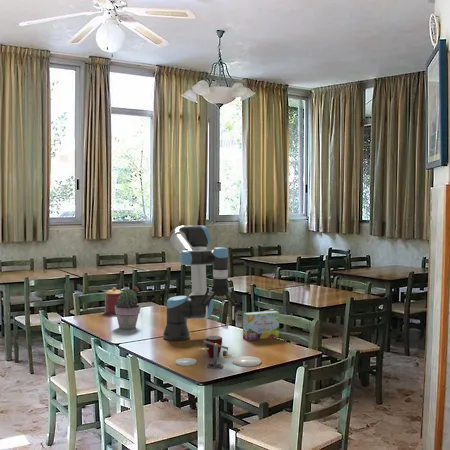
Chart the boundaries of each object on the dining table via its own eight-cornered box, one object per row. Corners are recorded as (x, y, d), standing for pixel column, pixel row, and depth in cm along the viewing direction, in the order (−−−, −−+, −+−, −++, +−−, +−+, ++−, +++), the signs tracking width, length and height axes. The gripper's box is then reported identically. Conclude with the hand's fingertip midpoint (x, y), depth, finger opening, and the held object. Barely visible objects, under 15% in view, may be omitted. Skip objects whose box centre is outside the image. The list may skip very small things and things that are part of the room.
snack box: (247, 341, 324) (247, 314, 323) (242, 338, 329) (243, 312, 328) (279, 337, 334) (279, 311, 333) (274, 335, 339) (274, 309, 338)
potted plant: (104, 329, 346) (105, 288, 345) (122, 323, 364) (122, 284, 363) (130, 332, 339) (131, 290, 338) (147, 326, 357) (147, 286, 356)
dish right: (230, 365, 275) (230, 363, 275) (233, 357, 289) (233, 355, 289) (259, 367, 273) (259, 364, 273) (261, 359, 287) (261, 356, 287)
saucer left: (173, 365, 275) (173, 363, 274) (177, 359, 284) (177, 357, 284) (194, 366, 273) (194, 364, 273) (197, 360, 283) (197, 358, 283)
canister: (101, 314, 392) (101, 288, 392) (108, 310, 405) (108, 285, 404) (119, 314, 390) (120, 289, 389) (126, 311, 403) (126, 286, 402)
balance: (198, 367, 272) (198, 341, 271) (200, 364, 276) (200, 338, 276) (230, 369, 270) (231, 342, 269) (232, 366, 275) (232, 340, 274)
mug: (199, 355, 292) (199, 336, 291) (211, 353, 297) (211, 334, 297) (213, 360, 284) (213, 340, 283) (225, 357, 289) (225, 338, 289)
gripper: (195, 278, 290) (195, 320, 291) (245, 279, 290) (244, 320, 291) (196, 276, 297) (195, 317, 298) (244, 277, 298) (243, 317, 298)
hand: (219, 319), depth 295 cm, fingers open, 13 cm apart
